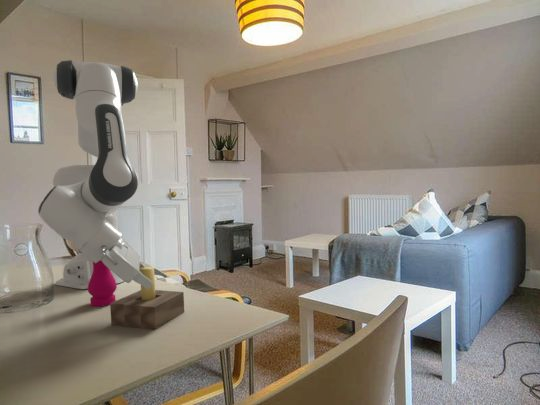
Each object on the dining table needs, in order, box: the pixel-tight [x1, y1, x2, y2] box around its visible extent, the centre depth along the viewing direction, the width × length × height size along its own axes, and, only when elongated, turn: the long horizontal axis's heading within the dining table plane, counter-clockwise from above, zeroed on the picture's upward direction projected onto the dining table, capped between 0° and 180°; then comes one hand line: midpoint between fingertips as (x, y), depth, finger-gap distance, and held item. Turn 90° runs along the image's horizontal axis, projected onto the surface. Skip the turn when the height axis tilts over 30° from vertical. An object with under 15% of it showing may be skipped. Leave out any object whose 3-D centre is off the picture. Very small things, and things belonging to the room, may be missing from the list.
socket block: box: [109, 289, 185, 330], centre depth 94 cm, size 12×12×5 cm
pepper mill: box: [87, 231, 117, 308], centre depth 106 cm, size 7×7×20 cm
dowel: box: [140, 266, 156, 301], centre depth 93 cm, size 3×3×12 cm
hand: (150, 281), depth 93 cm, fingers open, 8 cm apart
